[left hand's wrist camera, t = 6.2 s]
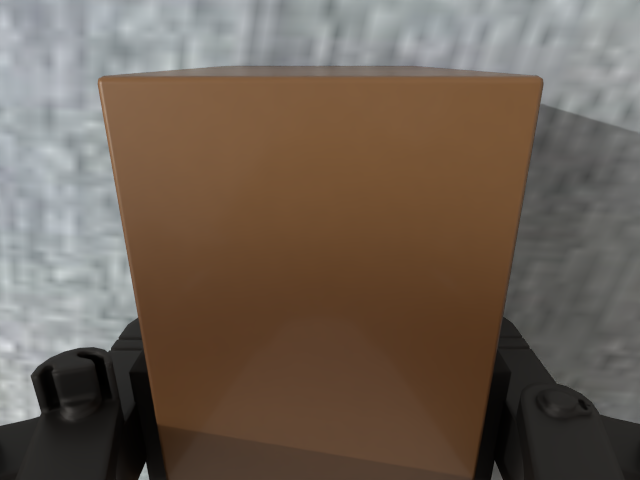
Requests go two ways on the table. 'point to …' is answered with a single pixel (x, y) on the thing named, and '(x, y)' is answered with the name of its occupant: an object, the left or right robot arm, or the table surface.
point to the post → (320, 261)
